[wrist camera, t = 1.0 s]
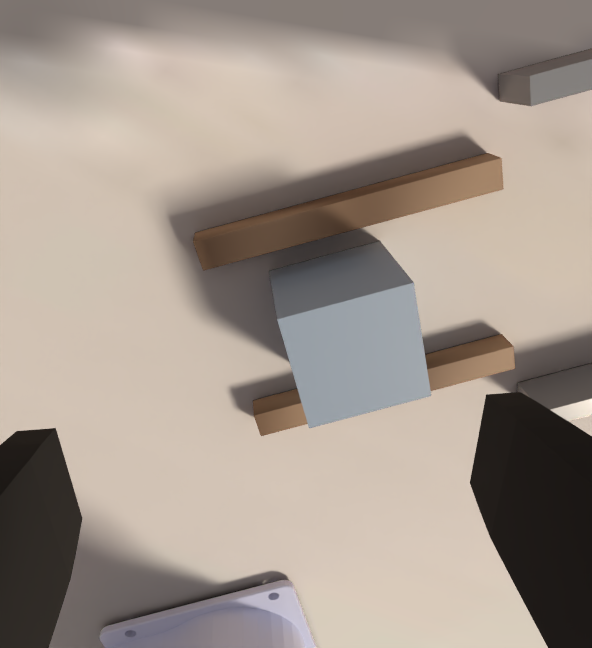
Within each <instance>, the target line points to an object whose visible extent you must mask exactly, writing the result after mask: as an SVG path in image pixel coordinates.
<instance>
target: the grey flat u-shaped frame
mask: <svg viewBox="0 0 592 648" xmlns="http://www.w3.org/2000/svg"><path fill="white" fill-rule="evenodd" d="M498 84H499V100H500V101H501V102H507V103H514V104H520V105H527V106H533V105H537V104H541V103H544V102H548V101H552V100H555V99H559V98H563V97H566V96H570V95H574V94H577V93H581V92H585V91H588V90H592V49H588V50H584V51H581V52H577V53H573V54H570V55H566V56H562V57H559V58H555V59H551V60H548V61H544V62H540V63H537V64H533V65H530V66H526V67H522V68H519V69H515V70H511V71H508V72H504V73H500V74H498ZM517 386H518V392H521V393H523V394H525V395H526V396H528V397H530V398H532V399H533V400H535V401H537V402H538V403H540V404H542V405H543V406H545V407H546V408H548V409H550V410H551V411H553V412H554V413H556V414H557V415H559V416H561V417H562V418H564V419H565V420H567V421H572V420H576V419H580V418H583V417H587V416H591V415H592V363H591V364H587V365H583V366H580V367H576V368H572V369H568V370H565V371H561V372H557V373H553V374H549V375H546V376H542V377H538V378H534V379H531V380H527V381H523V382H519V383H517Z"/></svg>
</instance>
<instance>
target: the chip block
mask: <svg viewBox="0 0 592 648" xmlns="http://www.w3.org/2000/svg"><path fill="white" fill-rule="evenodd" d="M269 274H270V280H271V286H272V292H273V298H274V304H275V310H276V316H277V321H278V324H279V328H280V331H281V335H282V338H283V341H284V345H285V348H286V352H287V355H288V358H289V362H290V365H291V369H292V372H293V375H294V379H295V382H296V385H297V389H298V392H299V396H300V399H301V402H302V406H303V409H304V413H305V416H306V419H307V423H308V426H309V428H312V427H316V426H320V425H324V424H328V423H331V422H335V421H339V420H343V419H346V418H350V417H354V416H358V415H361V414H365V413H369V412H373V411H376V410H380V409H384V408H388V407H391V406H395V405H399V404H403V403H407V402H410V401H414V400H418V399H422V398H425V397H429V396H431V390H430V384H429V378H428V371H427V365H426V358H425V352H424V345H423V339H422V333H421V326H420V320H419V313H418V307H417V301H416V294H415V288H414V282H413V281H412V280H411V279H410V277H409V276H408V275H407V274H406V273H405V271H404V270H403V269H402V268H401V266H400V265H399V264H398V263H397V261H396V260H395V259H394V258H393V257H392V255H391V254H390V253H389V252H388V250H387V249H386V248H385V247H384V245H383V244H382V243H381V242H380V241H378V242H374V243H370V244H367V245H363V246H359V247H356V248H352V249H348V250H345V251H341V252H337V253H334V254H330V255H326V256H323V257H319V258H315V259H311V260H308V261H304V262H300V263H297V264H293V265H289V266H286V267H282V268H278V269H275V270H271V271H269Z"/></svg>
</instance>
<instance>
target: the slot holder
mask: <svg viewBox="0 0 592 648" xmlns="http://www.w3.org/2000/svg"><path fill="white" fill-rule="evenodd" d="M502 189H503V175H502V159H501V158H500V157H497V156H494V155H492V154H489V153H486V154H483V155H479V156H475V157H472V158H468V159H464V160H461V161H457V162H453V163H450V164H446V165H442V166H439V167H435V168H431V169H427V170H424V171H420V172H416V173H413V174H409V175H405V176H402V177H398V178H394V179H391V180H387V181H383V182H380V183H376V184H372V185H369V186H365V187H361V188H358V189H354V190H350V191H347V192H343V193H339V194H336V195H332V196H328V197H325V198H321V199H317V200H314V201H310V202H306V203H303V204H299V205H295V206H292V207H288V208H284V209H280V210H277V211H273V212H269V213H266V214H262V215H258V216H255V217H251V218H247V219H244V220H240V221H236V222H233V223H229V224H225V225H222V226H218V227H214V228H211V229H207V230H203V231H200V232H196V233H195V236H194V240H193V243H194V246H195V249H196V251H197V254H198V257H199V260H200V263H201V266H202V269H203V270H207V269H211V268H215V267H218V266H222V265H226V264H229V263H233V262H237V261H240V260H244V259H248V258H251V257H255V256H259V255H263V254H266V253H270V252H274V251H277V250H281V249H285V248H288V247H292V246H296V245H299V244H303V243H307V242H310V241H314V240H318V239H322V238H325V237H329V236H333V235H336V234H340V233H344V232H347V231H351V230H355V229H358V228H362V227H366V226H370V225H373V224H377V223H381V222H384V221H388V220H392V219H395V218H399V217H403V216H406V215H410V214H414V213H418V212H421V211H425V210H429V209H432V208H436V207H440V206H443V205H447V204H451V203H454V202H458V201H462V200H465V199H469V198H473V197H477V196H480V195H484V194H488V193H491V192H495V191H499V190H502ZM425 358H426V365H427V371H428V378H429V384H430V390H431V391H433V390H436V389H440V388H444V387H448V386H452V385H455V384H459V383H463V382H467V381H470V380H474V379H478V378H482V377H485V376H489V375H493V374H497V373H500V372H504V371H508V370H512V369H515V361H514V346H513V345H512V344H511V343H510V342H509V341H508V340H507V339H506V338H505V337H504V336H503V335H502V334H500V335H497V336H493V337H489V338H485V339H482V340H478V341H474V342H470V343H467V344H463V345H459V346H455V347H452V348H448V349H444V350H440V351H437V352H433V353H429V354H425ZM253 409H254V417H255V420H256V423H257V426H258V429H259V432H260V435H261V436H264V435H267V434H271V433H275V432H279V431H282V430H286V429H290V428H294V427H297V426H301V425H305V424H308V423H307V419H306V416H305V413H304V409H303V406H302V402H301V399H300V396H299V392H298V389H294V390H291V391H287V392H283V393H279V394H276V395H272V396H268V397H264V398H261V399H257V400H253Z"/></svg>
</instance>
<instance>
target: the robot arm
mask: <svg viewBox="0 0 592 648" xmlns="http://www.w3.org/2000/svg"><path fill="white" fill-rule="evenodd" d="M470 484H471V487H472V490H473V493H474V495H475V498H476V501H477V504H478V506H479V509H480V512H481V515H482V517H483V520H484V522H485V525H486V527H487V530H488V532H489V535H490V537H491V539H492V541H493V543H494V545H495V547H496V549H497V551H498V553H499V555H500V557H501V559H502V561H503V563H504V565H505V567H506V569H507V571H508V573H509V574H510V576H511V578H512V580H513V582H514V584H515V586H516V588H517V590H518V592H519V594H520V595H521V597H522V599H523V601H524V603H525V605H526V607H527V609H528V611H529V612H530V614H531V616H532V618H533V620H534V622H535V624H536V626H537V628H538V629H539V631H540V633H541V635H542V637H543V639H544V641H545V643H546V645H547V646H548V648H592V436H590V435H589V434H587V433H585V432H584V431H582V430H581V429H579V428H578V427H576V426H575V425H573V424H571V423H570V422H568V421H567V420H565V419H564V418H562V417H561V416H559V415H557V414H556V413H554V412H553V411H551V410H550V409H548V408H546V407H545V406H543V405H542V404H540V403H538V402H537V401H535V400H533V399H532V398H530V397H528V396H526V395H525V394H523V393H521V392H515V393H503V394H490V395H486V399H485V404H484V410H483V415H482V421H481V426H480V431H479V437H478V442H477V448H476V453H475V458H474V464H473V469H472V475H471V480H470ZM81 522H82V516H81V512H80V509H79V506H78V502H77V499H76V496H75V492H74V489H73V485H72V482H71V479H70V475H69V472H68V468H67V465H66V462H65V458H64V455H63V452H62V448H61V445H60V441H59V438H58V435H57V431H56V428H53V429H40V430H27V431H17V432H15V433H14V434H13V435H12V436H11V437H9V438H8V439H7V440H6V441H5V442H3V443H2V444H1V445H0V648H48V647H49V644H50V641H51V638H52V635H53V632H54V629H55V626H56V623H57V620H58V617H59V613H60V610H61V607H62V604H63V601H64V598H65V595H66V592H67V588H68V585H69V582H70V578H71V574H72V569H73V564H74V559H75V554H76V549H77V544H78V538H79V533H80V527H81ZM99 639H100V641H101V643H102V644H103V646H104V647H105V648H317V646H316V643H315V641H314V638H313V635H312V633H311V630H310V627H309V625H308V622H307V619H306V617H305V614H304V611H303V609H302V606H301V603H300V601H299V598H298V595H297V593H296V590H295V587H294V585H293V583H292V582H290V581H289V580H280V581H276V582H272V583H268V584H264V585H261V586H257V587H253V588H249V589H245V590H242V591H238V592H234V593H230V594H226V595H222V596H219V597H215V598H211V599H207V600H203V601H199V602H196V603H192V604H188V605H184V606H180V607H177V608H173V609H169V610H165V611H161V612H157V613H154V614H150V615H146V616H142V617H138V618H135V619H131V620H127V621H123V622H119V623H115V624H112V625H108V626H106V627H104V628H103V629H102V630H101V633H100V637H99Z"/></svg>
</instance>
